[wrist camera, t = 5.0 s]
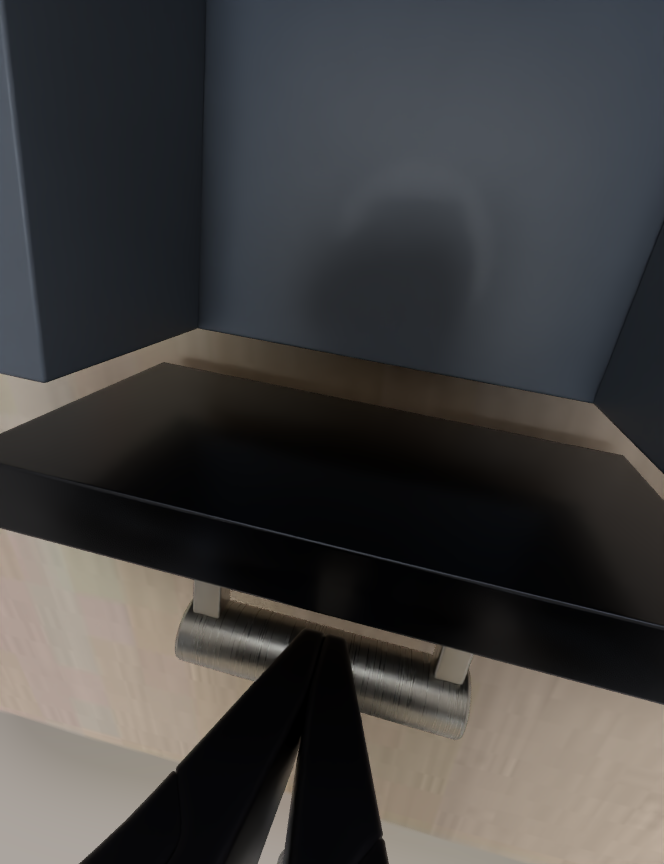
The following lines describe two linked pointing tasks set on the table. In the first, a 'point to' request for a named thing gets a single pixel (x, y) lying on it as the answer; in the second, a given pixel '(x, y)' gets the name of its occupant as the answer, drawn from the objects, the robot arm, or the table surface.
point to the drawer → (347, 320)
